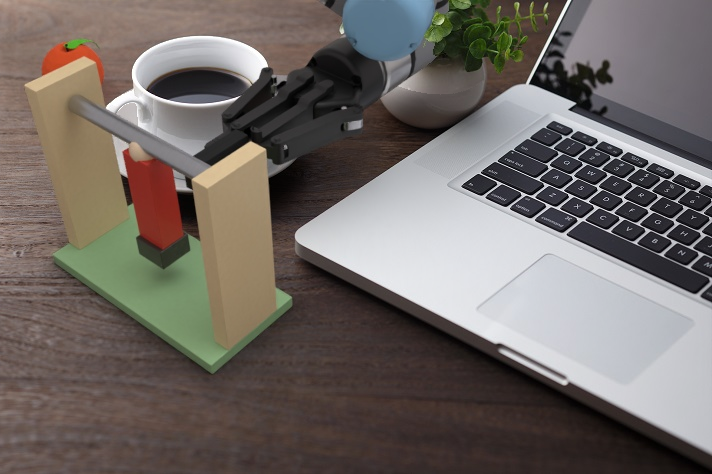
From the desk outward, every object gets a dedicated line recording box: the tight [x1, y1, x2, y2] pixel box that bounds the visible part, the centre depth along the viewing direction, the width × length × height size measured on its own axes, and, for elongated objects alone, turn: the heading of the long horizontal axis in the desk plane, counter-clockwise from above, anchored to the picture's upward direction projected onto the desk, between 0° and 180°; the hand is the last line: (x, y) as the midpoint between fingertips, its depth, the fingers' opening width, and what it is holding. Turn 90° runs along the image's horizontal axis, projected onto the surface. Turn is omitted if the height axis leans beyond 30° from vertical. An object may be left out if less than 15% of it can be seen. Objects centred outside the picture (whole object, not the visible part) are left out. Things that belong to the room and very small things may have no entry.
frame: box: [23, 57, 293, 375], centre depth 69 cm, size 21×10×18 cm, turn 52°
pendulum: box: [68, 94, 212, 270], centre depth 69 cm, size 17×3×13 cm, turn 52°
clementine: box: [40, 38, 105, 87], centre depth 96 cm, size 8×7×7 cm
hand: (190, 178), depth 71 cm, fingers closed
